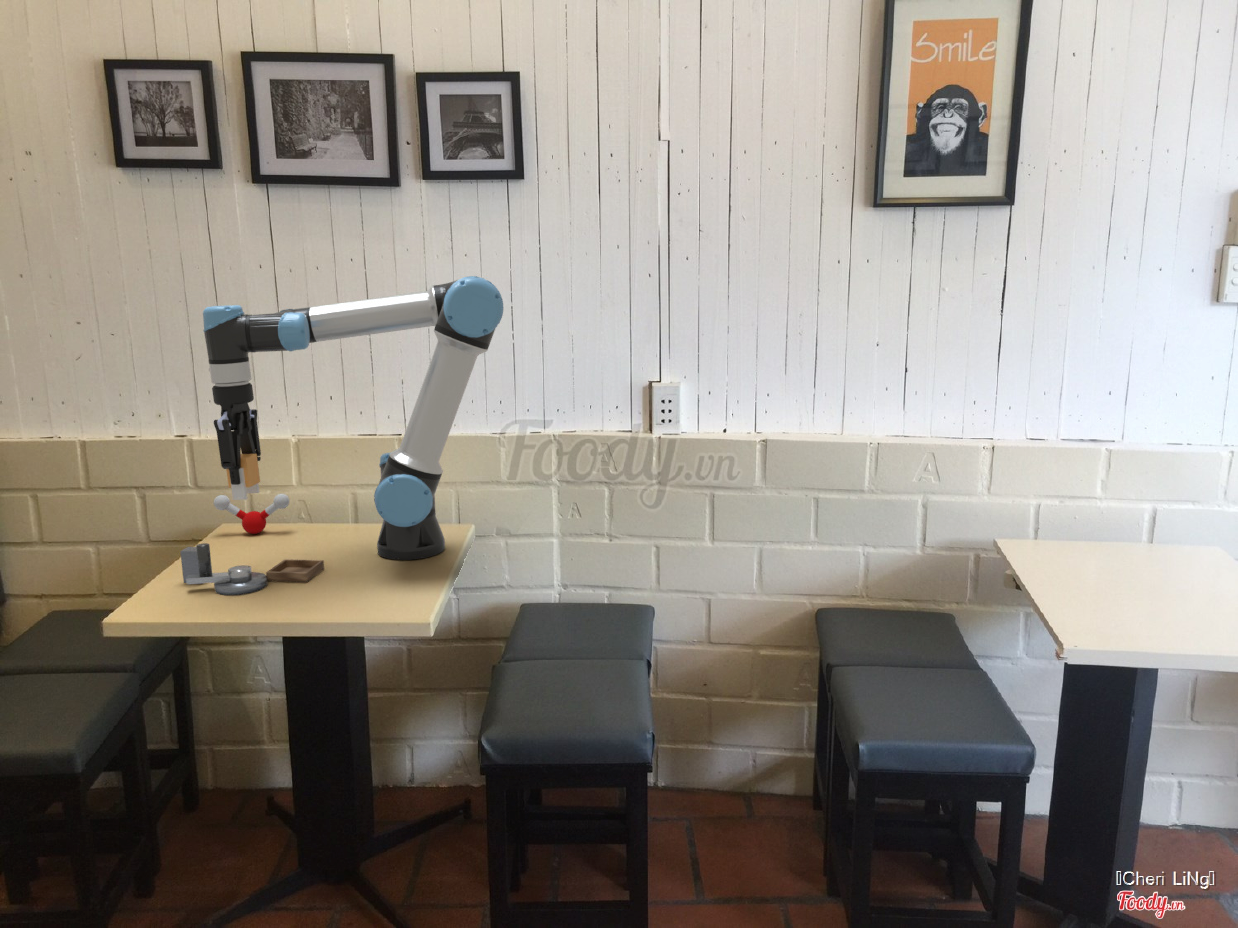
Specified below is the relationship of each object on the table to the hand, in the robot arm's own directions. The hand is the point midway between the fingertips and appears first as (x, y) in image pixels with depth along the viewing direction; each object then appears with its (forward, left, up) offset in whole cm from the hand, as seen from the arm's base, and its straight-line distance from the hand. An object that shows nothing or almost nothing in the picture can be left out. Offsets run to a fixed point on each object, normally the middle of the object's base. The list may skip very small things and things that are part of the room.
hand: (246, 495), depth 193 cm
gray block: (+11, +3, -18) cm, 21 cm away
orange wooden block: (0, 0, +2) cm, 2 cm away
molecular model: (+16, -31, -18) cm, 39 cm away
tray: (-8, -2, -18) cm, 20 cm away
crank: (+4, +7, -16) cm, 18 cm away
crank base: (0, +6, -18) cm, 19 cm away
